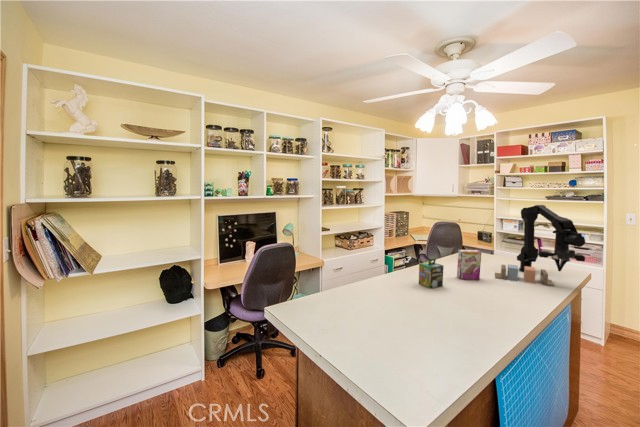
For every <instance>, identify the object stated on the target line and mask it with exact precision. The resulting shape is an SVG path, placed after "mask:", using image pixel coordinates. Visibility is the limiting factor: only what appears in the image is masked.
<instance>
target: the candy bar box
mask: <svg viewBox="0 0 640 427" xmlns="http://www.w3.org/2000/svg"><path fill="white" fill-rule="evenodd" d="M457 252H458V254H457V269H456V270H457V271H456V278H458V279H459V280H477V281H479V280H480V277H481V265H482V264H481V263H482V251H480V250H477V249H458V250H457Z"/></svg>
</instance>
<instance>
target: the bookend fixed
mask: <svg viewBox="0 0 640 427" xmlns="http://www.w3.org/2000/svg"><path fill="white" fill-rule="evenodd" d="M500 266H501V268H500V272H494V279H499V280H506V279H507V276H506V274H507V267H506V264H501V265H500Z"/></svg>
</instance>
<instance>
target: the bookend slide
mask: <svg viewBox="0 0 640 427" xmlns="http://www.w3.org/2000/svg"><path fill="white" fill-rule="evenodd" d="M539 280H540V282H541V284H542V285H543V286H549V287H555V284H554V282H553V280H552V279H549V273H548V271H547V270H546V269H544V268H541V269H540V277H539Z"/></svg>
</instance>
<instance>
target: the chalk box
mask: <svg viewBox="0 0 640 427" xmlns="http://www.w3.org/2000/svg"><path fill="white" fill-rule="evenodd" d="M436 261H437V258H430V259H429V261H425V262H421V263H419V265H418V284H419V285H422V286H424V287H427V288H428V289H435V288H440V287H443V286H444V285H443V283H444V264H439V263H437V262H436Z"/></svg>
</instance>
